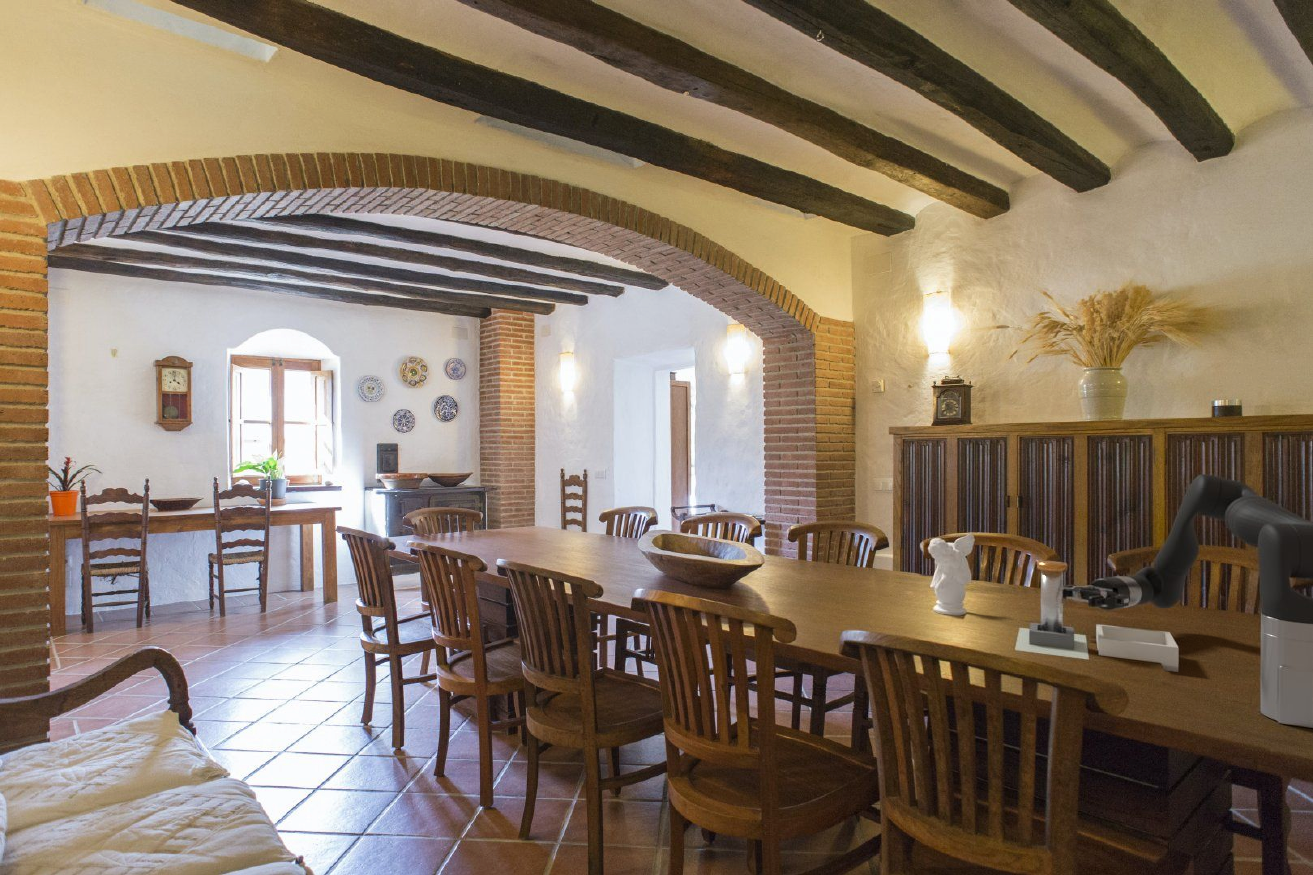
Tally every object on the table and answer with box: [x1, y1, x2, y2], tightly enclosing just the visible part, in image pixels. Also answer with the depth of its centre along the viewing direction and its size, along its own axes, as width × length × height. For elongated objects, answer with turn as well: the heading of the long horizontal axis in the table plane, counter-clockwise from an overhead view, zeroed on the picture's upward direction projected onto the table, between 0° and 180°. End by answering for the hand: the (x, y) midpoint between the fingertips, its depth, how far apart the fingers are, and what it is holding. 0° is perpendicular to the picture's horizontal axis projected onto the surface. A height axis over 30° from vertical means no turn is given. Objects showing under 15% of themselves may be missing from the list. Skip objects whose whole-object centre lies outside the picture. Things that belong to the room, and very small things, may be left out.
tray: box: [1095, 623, 1180, 673], centre depth 161 cm, size 14×14×5 cm
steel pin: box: [1036, 560, 1068, 633], centre depth 168 cm, size 6×6×18 cm
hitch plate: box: [1014, 622, 1090, 660], centre depth 168 cm, size 22×14×4 cm, turn 151°
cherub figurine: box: [927, 532, 976, 616], centre depth 206 cm, size 12×12×22 cm
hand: (1072, 598), depth 171 cm, fingers open, 8 cm apart
